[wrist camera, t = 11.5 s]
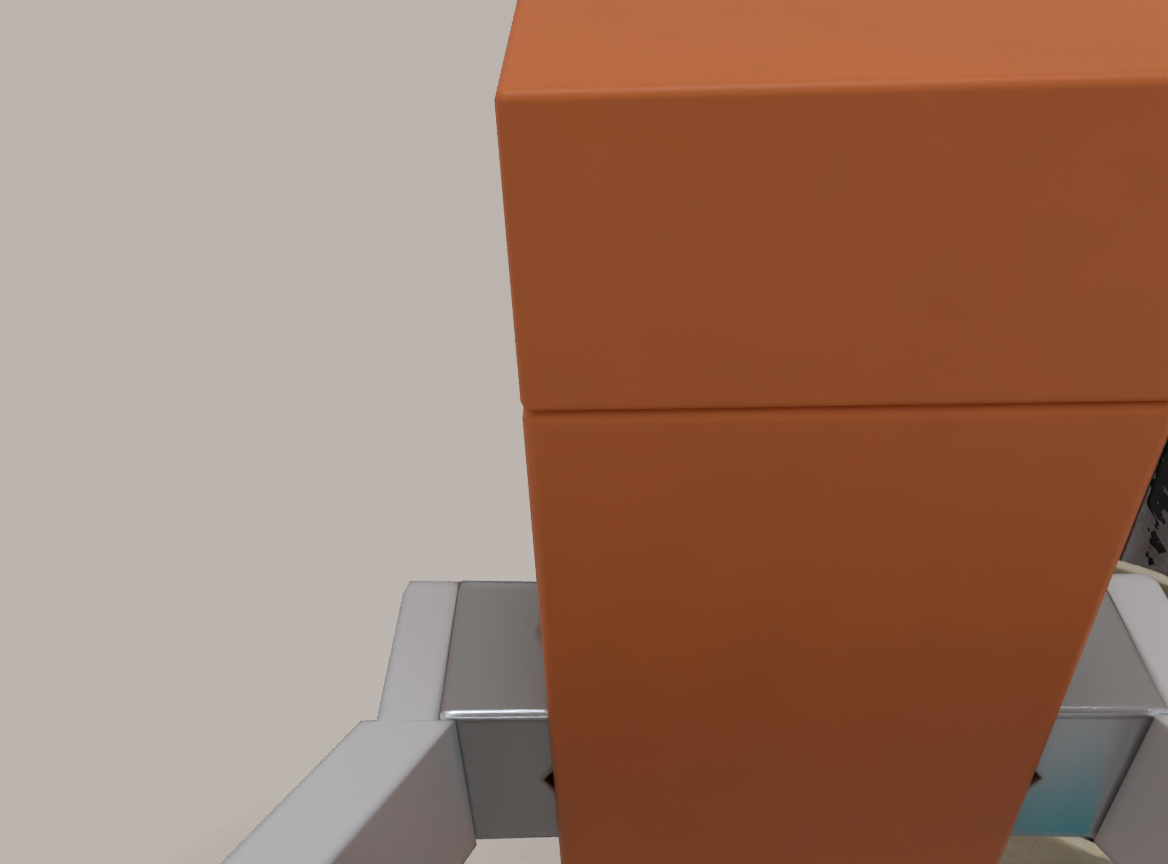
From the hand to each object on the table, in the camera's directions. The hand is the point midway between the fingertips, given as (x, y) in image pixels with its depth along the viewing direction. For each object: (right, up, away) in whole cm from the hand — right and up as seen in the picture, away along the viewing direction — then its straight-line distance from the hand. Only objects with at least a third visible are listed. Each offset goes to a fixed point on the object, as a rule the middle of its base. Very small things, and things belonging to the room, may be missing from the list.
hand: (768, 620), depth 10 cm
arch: (0, -4, +5) cm, 6 cm away
